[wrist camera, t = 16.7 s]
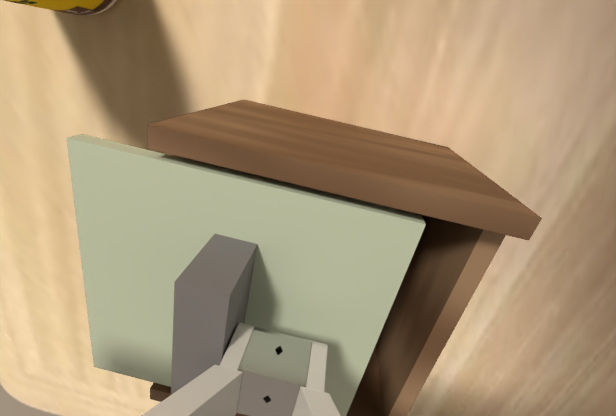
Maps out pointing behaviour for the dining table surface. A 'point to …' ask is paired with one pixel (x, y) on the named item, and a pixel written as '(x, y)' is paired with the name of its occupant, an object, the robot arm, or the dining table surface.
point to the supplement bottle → (70, 5)
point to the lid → (227, 264)
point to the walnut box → (381, 190)
